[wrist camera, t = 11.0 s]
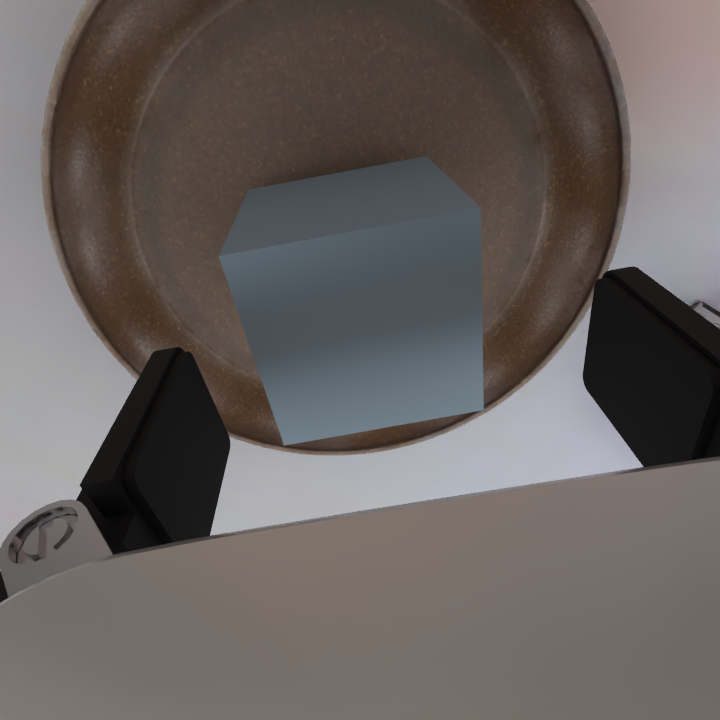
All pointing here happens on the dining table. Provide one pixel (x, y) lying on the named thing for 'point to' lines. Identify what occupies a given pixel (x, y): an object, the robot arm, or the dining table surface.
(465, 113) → the plant saucer
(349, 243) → the slate-blue wooden cube
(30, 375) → the dining table surface
